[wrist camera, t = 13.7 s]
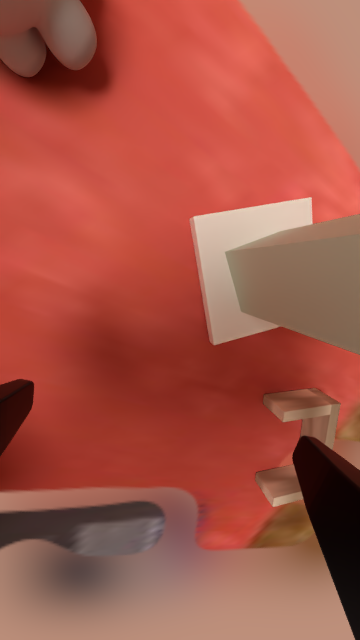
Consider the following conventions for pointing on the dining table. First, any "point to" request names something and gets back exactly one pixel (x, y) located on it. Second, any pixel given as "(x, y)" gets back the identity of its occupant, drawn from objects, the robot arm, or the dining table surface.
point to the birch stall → (316, 423)
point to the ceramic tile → (214, 274)
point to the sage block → (304, 280)
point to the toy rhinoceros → (45, 34)
